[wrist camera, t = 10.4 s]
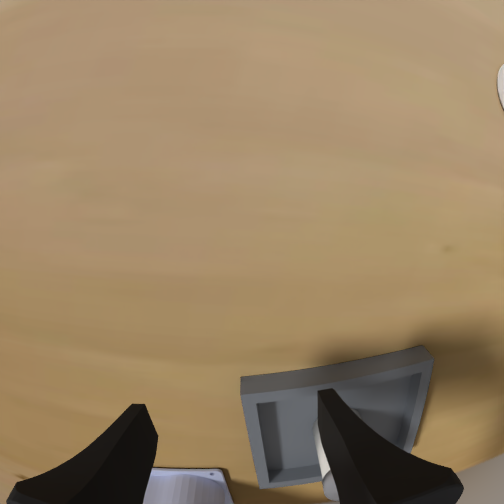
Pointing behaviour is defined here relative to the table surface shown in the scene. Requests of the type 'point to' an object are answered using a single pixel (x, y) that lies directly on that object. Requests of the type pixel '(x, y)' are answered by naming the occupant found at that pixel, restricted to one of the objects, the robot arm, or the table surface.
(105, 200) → the table surface
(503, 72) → the can
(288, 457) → the tray
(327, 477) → the shaker
